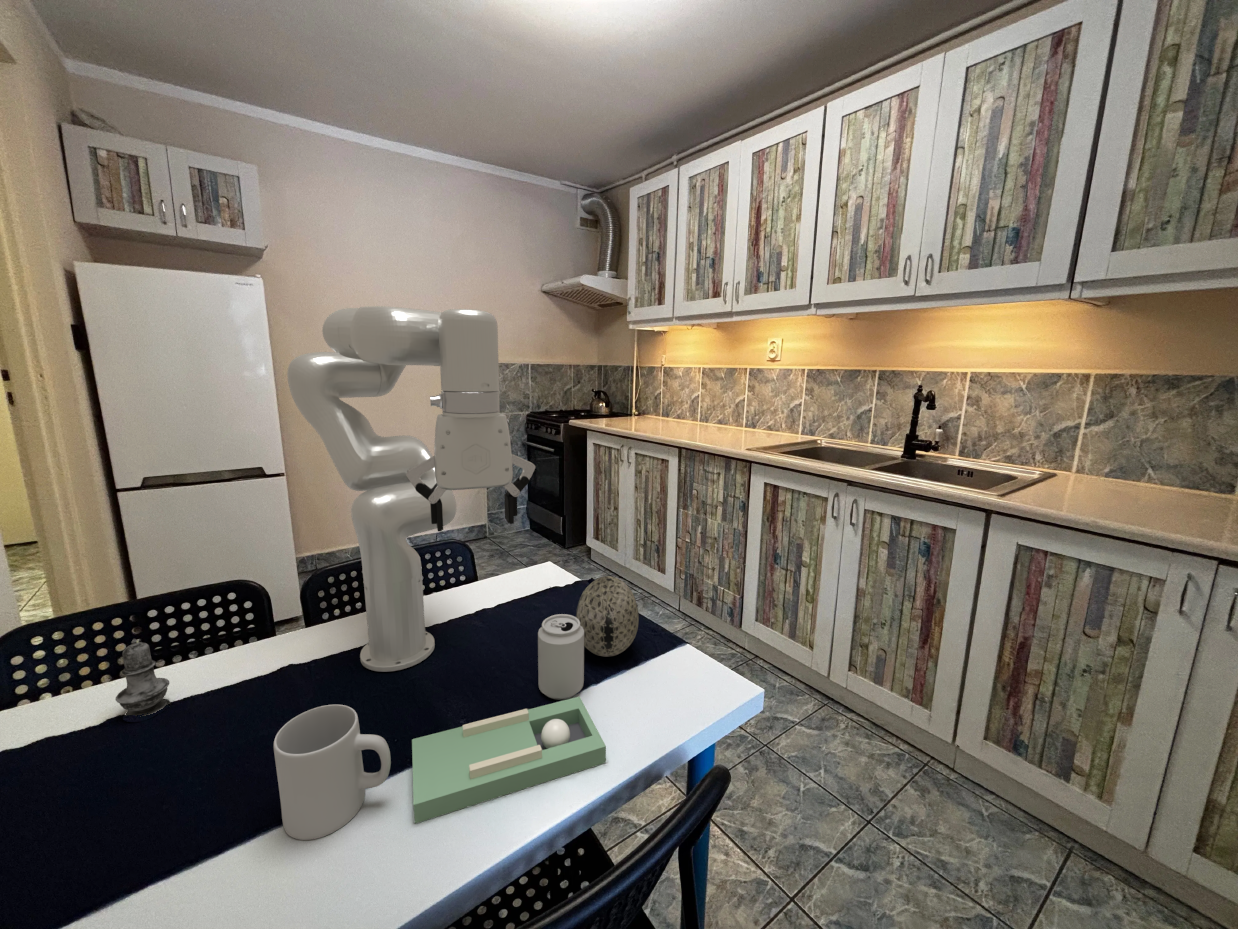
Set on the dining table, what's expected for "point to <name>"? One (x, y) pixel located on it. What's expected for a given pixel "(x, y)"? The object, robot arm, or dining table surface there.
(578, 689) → the can
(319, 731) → the mug
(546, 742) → the ball
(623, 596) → the decorative egg
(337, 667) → the dining table surface
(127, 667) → the gray stone finial
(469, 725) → the green
